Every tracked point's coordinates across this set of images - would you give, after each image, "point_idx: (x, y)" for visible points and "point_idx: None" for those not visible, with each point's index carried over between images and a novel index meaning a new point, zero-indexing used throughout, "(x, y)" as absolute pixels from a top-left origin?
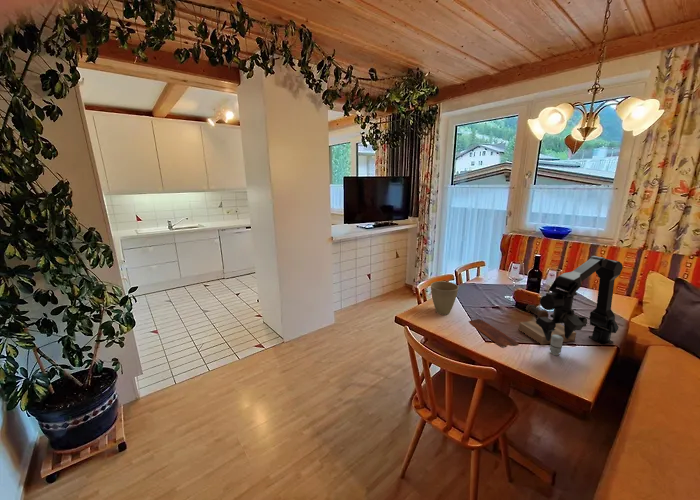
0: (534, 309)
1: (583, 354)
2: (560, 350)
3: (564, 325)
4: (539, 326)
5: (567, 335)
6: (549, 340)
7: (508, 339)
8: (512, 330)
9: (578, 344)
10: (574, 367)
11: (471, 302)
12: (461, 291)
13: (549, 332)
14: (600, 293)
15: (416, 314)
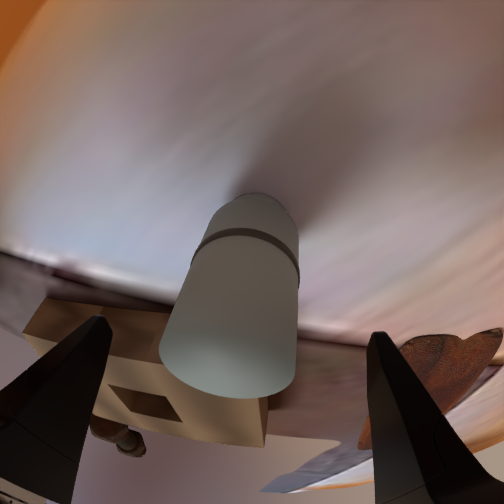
0: (125, 443)
1: (52, 181)
2: (233, 214)
3: (77, 460)
4: (183, 418)
5: (87, 351)
6: (380, 338)
7: (421, 374)
8: (304, 412)
9: (40, 270)
10: (249, 11)
11: (291, 477)
12: (271, 489)
13: (468, 462)
14: None
15: (489, 443)
